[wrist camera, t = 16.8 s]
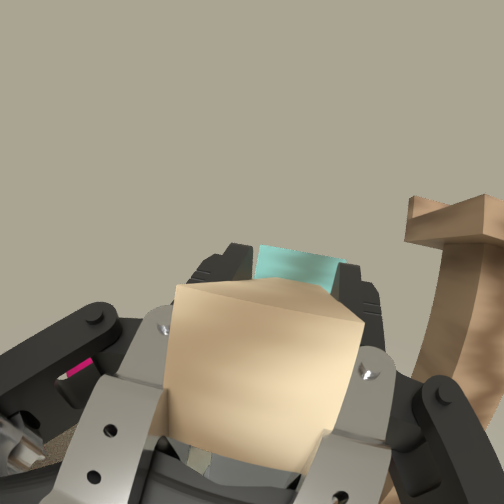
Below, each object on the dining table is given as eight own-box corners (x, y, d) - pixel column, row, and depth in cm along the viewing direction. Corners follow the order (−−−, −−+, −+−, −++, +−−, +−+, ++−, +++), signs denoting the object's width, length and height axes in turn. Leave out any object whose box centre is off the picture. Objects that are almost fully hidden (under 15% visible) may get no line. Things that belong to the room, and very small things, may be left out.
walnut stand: (316, 567, 11) (483, 156, 10) (322, 487, 24) (409, 198, 22) (409, 559, 9) (575, 205, 8) (393, 488, 22) (488, 221, 20)
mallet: (99, 403, 5) (132, 163, 5) (260, 305, 25) (271, 251, 25) (388, 478, 3) (462, 212, 4) (326, 318, 24) (337, 263, 24)
